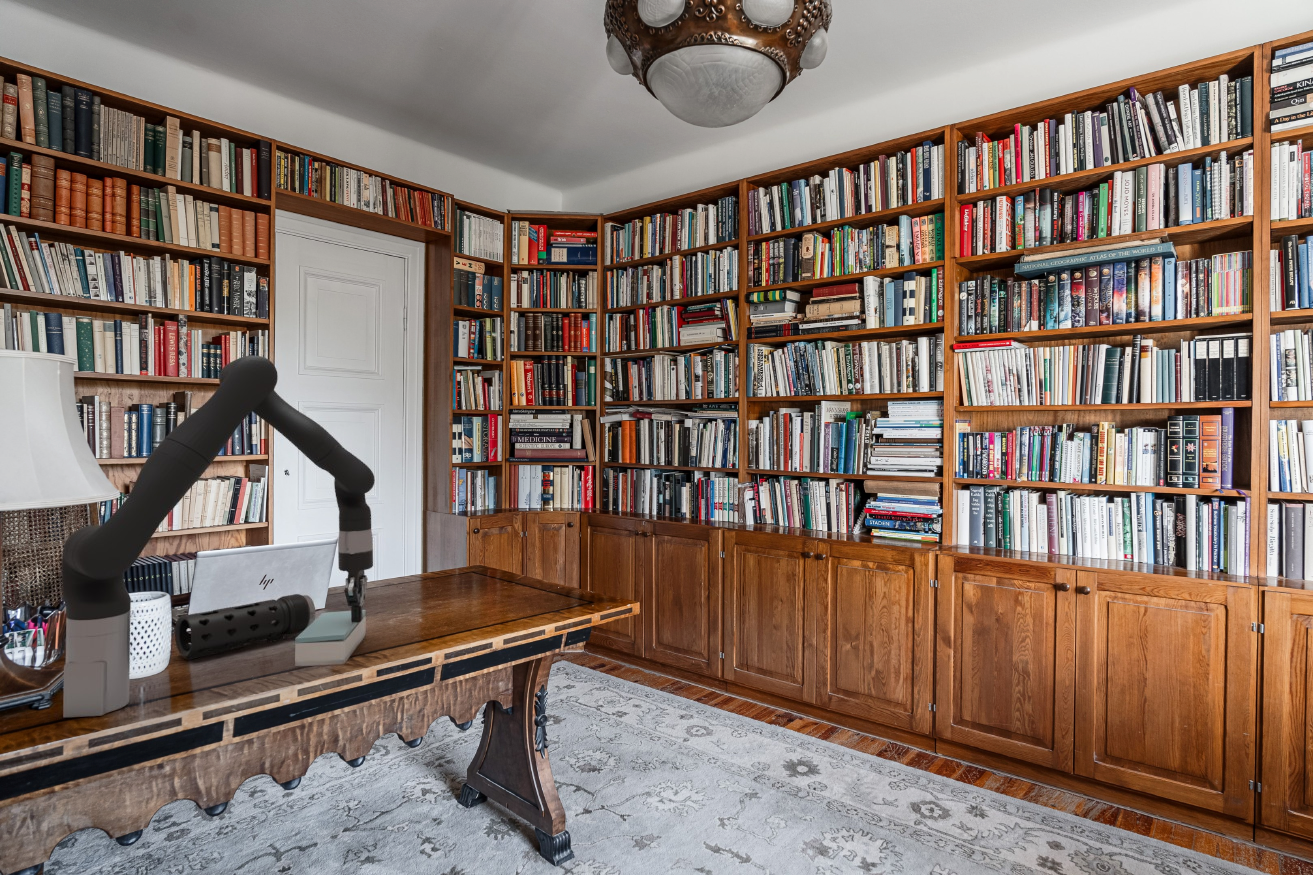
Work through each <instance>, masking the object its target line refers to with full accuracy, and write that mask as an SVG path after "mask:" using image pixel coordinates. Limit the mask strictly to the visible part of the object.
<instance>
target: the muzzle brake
mask: <svg viewBox="0 0 1313 875" xmlns="http://www.w3.org/2000/svg"><path fill="white" fill-rule="evenodd" d="M315 620H316V607H315V604H314V601H313V599H312V597H311V596H310V595H307V594H304V595H303V594H299V593H296V594H295V593H294V594H290V595H284V596H280V597H279V598H277V599H268V600H263V601H257V602H252V603H247V604H242V605H236V606H229V607H224V608H219V609H218V608H217V609H214V610H208V611H203V612H202V611H201V612H196V613H190V614H189V613H188V614H184V615H181V616H179V617H178V618H177V620H176V623H175V629H174V639H175V645H176V649H177V652H178V653H179V654H180V655H181V656H182V657H183V658H184V659H185V660H188V661H189V660H192V659H198V658H202V657H206V656H211V655H215V654H220V653H223V652H228V651H232V649H236V648H244V646H245V645H248V644H249V645H250V644H252V643H257V642H262V641H266V642H268V641H269V643H271V642H270V641H272V642H275V641H274V640H276V641H279V640H280V639H281V640H283V639H284V637H285V636H289V635H294V634H298V633H302V632H303V631H304V630H305V629H306V628H307V627H308V626H309V625H310V624H311V623H313V622H314V621H315ZM188 629H190V630H189V631H190V632H188V631H187V630H188ZM281 640H280V641H281Z"/></svg>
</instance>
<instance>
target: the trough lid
mask: <svg viewBox="0 0 1313 875" xmlns="http://www.w3.org/2000/svg"><path fill="white" fill-rule="evenodd" d="M366 611H367V610H366V609H362V614H363V616H366V614H367V613H366ZM356 625H357V623H355V622H351V610H343V611H341V610H340V611H330V612H322V613H321V614H320V615H319V616H318V617H317V618H315V621H314V622H313V623H311V624H310V625H309V626H308V627H307V628H306V629H305V630H304V631H302V632H300V634H298V635H297V636H296V637H295V639H294V640H295V642H294V644H295V643H304V642H316V641H327V640H339V639H345V638H346V637H347V635H348V634H349V633H350V632H351V631H352V629H353V628H354V627H355V626H356Z"/></svg>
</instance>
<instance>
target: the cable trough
mask: <svg viewBox="0 0 1313 875" xmlns="http://www.w3.org/2000/svg"><path fill="white" fill-rule="evenodd" d="M366 618H367V617H366V615H364V616H363V619H362V621H361V622H358V623H357V625H356V626H355V627H354V628H353V629H352V631H351V632H350V633H349V634H348V635H347V637H346V638H345V639H339V640H327V641H316V642H304V643H295V642H294V644H295V645H294V646H295V648H294V649H295V650H294V651H295V652H294V659H295V660H294V666H295V667H310V666H311V667H312V666H313V667H314V666H333V665H334V666H335V665H345V664H346V663H347V661H348V660H349V658H350V657H351V656H352V654H353V653H354V651H355V650H356V649H357V647H358V646H359V645H360V644H361V642H362V641H363V639H364V638H365V637H366V629H367V628H366V622H367V621H366V620H367V619H366Z"/></svg>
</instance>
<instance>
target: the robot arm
mask: <svg viewBox="0 0 1313 875" xmlns="http://www.w3.org/2000/svg"><path fill="white" fill-rule="evenodd" d="M218 375H219V376H218V378H219V379H218V381H219V386H218V387H217V389H216V390H215V392H214V393H213V394H212V396H210V398H209V399H208V400H206V402H204V404H202V405H201V406H200V407H199V408H197V409H196V410H195V411H194V412H192V413H191V414H190V415H189V416H188V417H186V418H185V419H184V420H183V421H182V422H180V423H179V424H178V425H176V427H175V428H174V429H172V430H171V432H169V433H168V435H166V436H165V437H164V439H162V441H161V442H160V443H159V444H158V445H157V446H156V447H155V448H154V450H152V452H151V454H150V455H149V456H148V458H147V459H145V460H146V461H145V462H144V463H143V465H142V468H141V469H140V471H139V473H138V476H137V477H136V481H135V482H134V484H133V487H132V489H131V492H130V493H129V494H128V496H127V497H126V498H125V500H124V502H123V503H122V504H121V505H120V507H118V508H117V510H116V511H115V512H114V513H113V514H112V515H111V516H110V517H109V518H108V519H107V520H106V521H105V522H104V523H103V524H94V525H86V526H83V527H82V528H79V529H76V531H74V532H73V533H71V534H70V536H68V538H67V540H66V541H65V543H64V545H63V548H62V554H61V555H62V556H61V580H62V581H61V584H62V585H61V586H62V587H61V588H62V590H61V591H62V592H61V593H62V600H63V602H64V606H65V610H66V611H65V612H66V613H65V614H66V619H65V620H66V621H65V622H66V623H65V624H66V626H65V627H66V629H65V632H66V633H65V634H66V635H65V664H64V665H63V702H62V703H63V706H62V708H63V711H62V712H63V714H62V715H63V718H80V717H82V718H83V717H97V716H99V717H100V716H104V715H105V714H108V713H110V712H113V711H116V710H120V709H122V708H123V707H125V706H126V705H128V704H129V702H130V672H131V671H130V669H131V668H130V664H131V662H130V661H131V609H132V607H131V605H132V604H131V603H132V602H131V601H132V600H131V596H130V594H129V592H128V590H127V587H126V585H125V579H124V573H125V572H126V571H128V570H129V569H130V568H131V567H133V565H134V564H135V562H136V561H137V559H138V558H139V557H140V555H141V554H142V552H143V550H145V548H146V546H147V545H148V543H149V542H150V540H151V539H152V537H153V536H154V534H155V533H156V531H157V530H158V528H159V526H160V525H161V523H163V521H164V520H165V518H166V517H167V516H168V515H169V514H170V513H171V511H173V509H175V507H176V506H177V505H178V504H179V502H180V501H181V500H182V499H183V498H184V497H185V496H186V494H187V493H188V491H189V490H190V489H191V488H192V487H193V486H194V485H195V484H196V482H197V481H199V479H200V478H201V477H202V475H203V474H204V473H205V472H206V471H207V470H208V469H209V466H211V465H212V463H213V462H214V461H215V459H216V457H217V456H218V455H219V454H220V453H221V451H222V450H223V448H224V447H225V446H226V444H227V443H228V442H229V440H230V439H231V438H232V436H233V435H234V433H235V431H237V429H238V428H239V426H240V425H241V423H243V421H244V420H245V419H246V418H247V417H248V415H250V414H251V413H253V414H254V415H256V416H258V418H260V419H262V420H263V421H264V422H266V423H267V424H268V425H270V426H271V427H272V428H273V429H274V430H276V431H277V432H278V433H279V434H281V435H282V436H283V437H285V439H286V440H288V441H289V442H290V443H291V444H292V445H294V447H296V448H297V450H299V452H300V453H302V454H303V455H304V456H305V457H306V458H307V459H308V460H310V462H312V463H313V464H314V465H315V466H316V467H317V468H319V469H321V470H323V471H326V472H327V473H328V474H329V475H330V476H332V477H333V478H334V480H333V481H334V482H333V485H334V486H333V487H334V494H335V498H336V504H337V508H338V530H339V531H338V537H337V538H338V539H337V545H338V546H337V548H338V549H337V553H338V556H337V557H338V570H339V571H341V572H346V573H347V578H345V586H346V587H345V588H344V589H343V590H344V594H345V598H346V603H347V606H348V607H350V611H351V622H355V623H358V622H361V621H362V619H363V614H362V610H363V605H364V603H365V602H364V601H365V600H366V592H367V584H368V580H369V579H368V577H367V575H366V574H365V571H367V570H370V569H372V568H373V567H374V543H373V542H374V540H373V538H374V537H373V532H372V511H371V508H370V507H371V506H369V505H368V503H367V501H366V494H367V493H369V492H370V491H371V490H372V489H373V487H374V485H375V475H374V473H373V471H372V469H371V468H370V466H368V465H367V464H366V463H365V462H363V461H362V460H361V459H360V458H358V457H357V456H355V455H354V454H353V453H352V452H350V451H348V450H347V449H346V448H345V447H344V446H343V445H342V444H341V443H340V442H339V441H338V440H337V439H336V438H335V437H334V436H332V434H331V433H329V432H328V430H326V429H325V428H324V427H323V426H321V425H320V424H319V423H317V422H316V421H314V420H313V419H312V418H310V417H309V416H307V415H306V414H304V413H302V412H301V411H299V410H298V409H296V408H295V407H294V406H292V405H290V404H289V403H288V402H287V401H285V399H284V398H282V397H281V396H280V395H279V394H278V393H277V392H276V391H275V389H276V386H277V384H278V380H279V379H278V378H279V377H278V371H277V368H276V366H275V364H274V363H273V361H271V360H270V359H268V358H267V357H264V356H260V355H253V354H252V355H245V356H244V355H243V356H241V357H238V358H237V359H235V360H232V361H231V362H229V363H227V364H226V365H224V366H223V367H222V369H221V371H220V372H219V374H218Z"/></svg>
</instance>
